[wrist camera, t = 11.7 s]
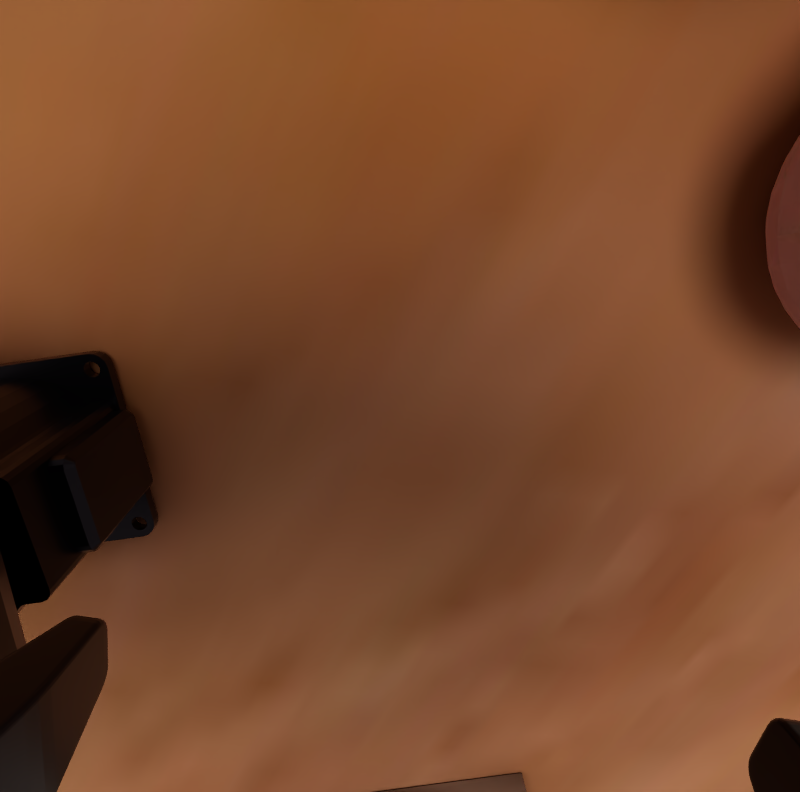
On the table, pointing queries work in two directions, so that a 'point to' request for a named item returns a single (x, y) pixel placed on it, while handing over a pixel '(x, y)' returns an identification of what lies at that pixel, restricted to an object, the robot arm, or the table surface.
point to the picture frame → (475, 785)
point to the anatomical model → (786, 234)
